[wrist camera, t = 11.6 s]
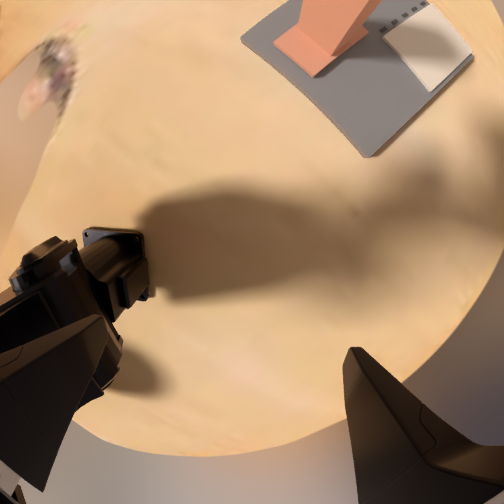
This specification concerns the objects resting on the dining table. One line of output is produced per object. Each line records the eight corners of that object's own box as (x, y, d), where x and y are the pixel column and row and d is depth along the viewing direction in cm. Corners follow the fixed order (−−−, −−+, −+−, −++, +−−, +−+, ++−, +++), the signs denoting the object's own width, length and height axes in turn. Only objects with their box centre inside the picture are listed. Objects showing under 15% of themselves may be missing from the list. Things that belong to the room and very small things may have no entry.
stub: (329, 3, 12) (370, -88, 2) (366, 35, 13) (439, -39, 3) (273, 44, 14) (272, -55, 4) (312, 77, 15) (360, 0, 5)
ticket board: (368, -38, 11) (373, -47, 9) (466, 59, 13) (476, 56, 12) (242, 43, 16) (239, 35, 14) (363, 157, 18) (370, 158, 17)
